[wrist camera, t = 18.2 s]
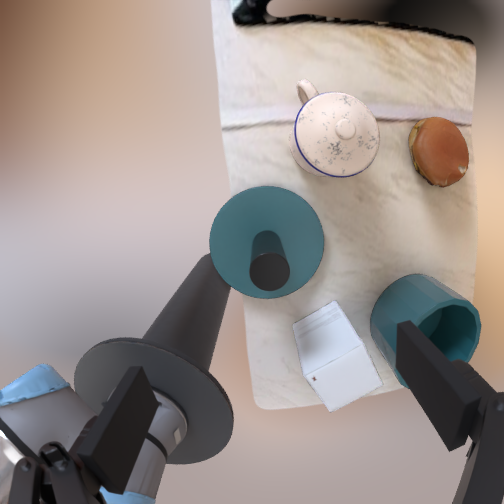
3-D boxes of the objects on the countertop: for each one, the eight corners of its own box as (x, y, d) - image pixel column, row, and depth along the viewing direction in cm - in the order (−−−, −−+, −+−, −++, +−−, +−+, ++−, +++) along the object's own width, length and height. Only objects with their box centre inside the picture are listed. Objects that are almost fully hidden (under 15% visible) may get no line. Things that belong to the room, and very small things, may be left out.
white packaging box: (313, 359, 44) (328, 415, 31) (290, 323, 42) (301, 375, 30) (356, 336, 43) (384, 386, 30) (336, 298, 41) (363, 342, 29)
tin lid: (223, 303, 42) (208, 353, 29) (200, 197, 39) (171, 206, 26) (328, 285, 41) (355, 329, 28) (313, 177, 38) (338, 176, 25)
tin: (370, 362, 44) (392, 403, 33) (368, 283, 41) (397, 314, 30) (441, 341, 43) (472, 373, 33) (445, 266, 40) (485, 288, 30)
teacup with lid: (367, 161, 37) (405, 155, 26) (307, 189, 38) (326, 193, 27) (325, 81, 35) (348, 47, 23) (264, 107, 36) (265, 78, 24)
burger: (414, 108, 35) (430, 101, 30) (461, 138, 35) (479, 136, 31) (396, 169, 37) (412, 169, 32) (445, 196, 37) (463, 199, 33)
